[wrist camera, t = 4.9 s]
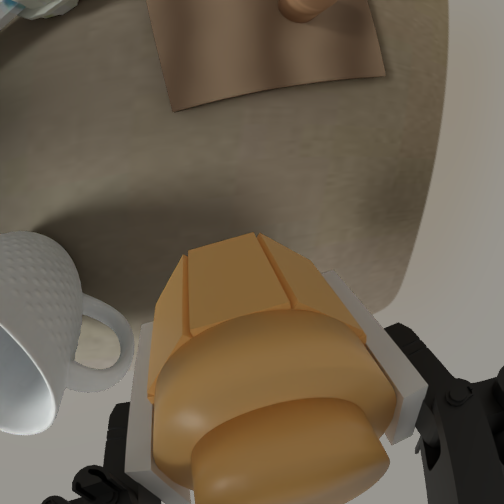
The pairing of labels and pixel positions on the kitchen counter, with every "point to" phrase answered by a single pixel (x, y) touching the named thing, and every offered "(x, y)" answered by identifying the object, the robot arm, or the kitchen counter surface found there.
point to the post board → (260, 45)
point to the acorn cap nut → (263, 381)
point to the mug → (46, 333)
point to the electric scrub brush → (33, 9)
